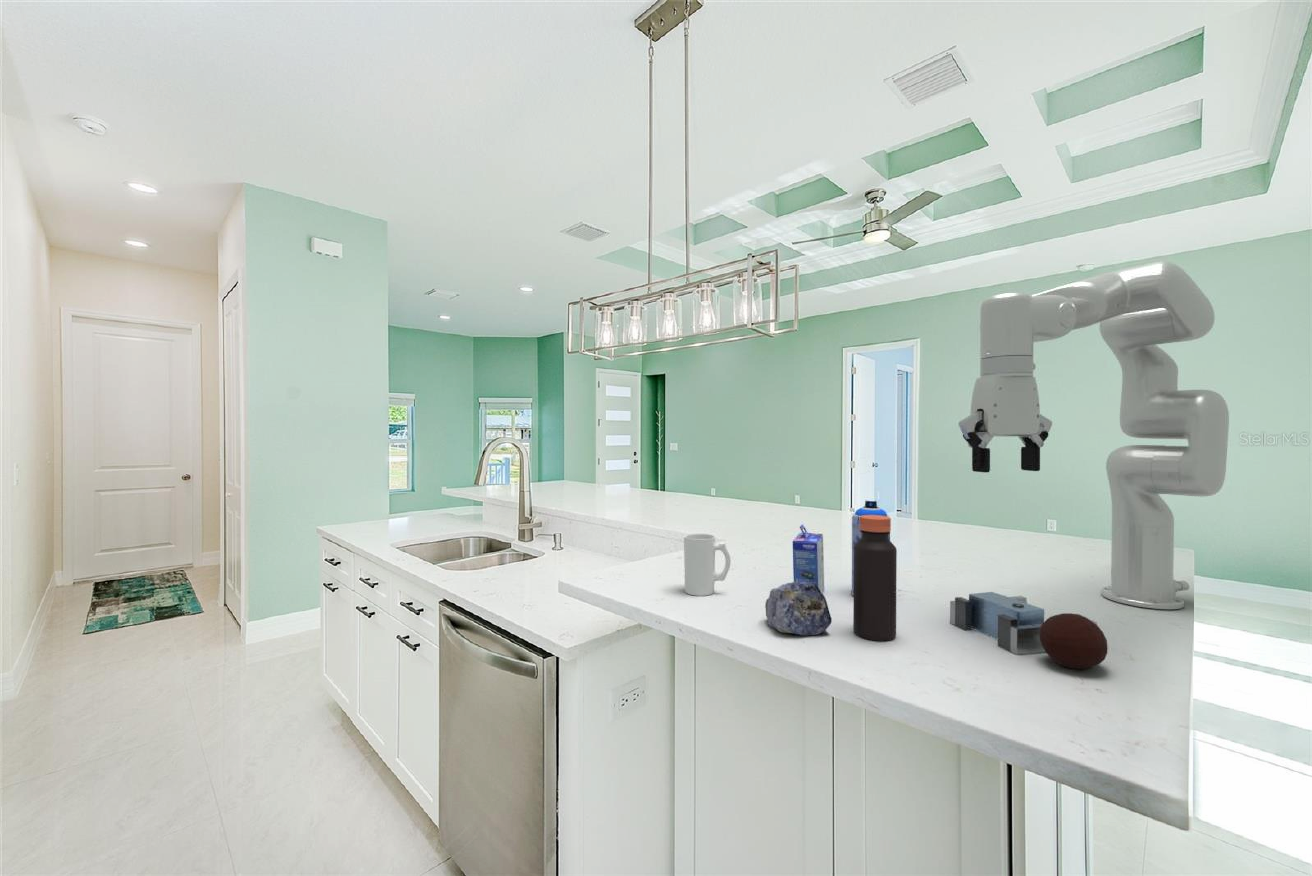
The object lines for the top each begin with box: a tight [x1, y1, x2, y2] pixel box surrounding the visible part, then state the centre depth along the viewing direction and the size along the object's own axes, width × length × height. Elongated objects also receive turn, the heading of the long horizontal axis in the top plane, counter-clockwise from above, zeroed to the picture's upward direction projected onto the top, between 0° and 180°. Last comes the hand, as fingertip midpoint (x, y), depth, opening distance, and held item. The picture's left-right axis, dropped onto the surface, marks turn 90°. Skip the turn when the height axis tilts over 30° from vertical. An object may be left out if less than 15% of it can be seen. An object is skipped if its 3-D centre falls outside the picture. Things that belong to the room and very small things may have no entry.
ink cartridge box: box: [792, 523, 825, 594], centre depth 118 cm, size 10×6×14 cm, turn 157°
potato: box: [1039, 612, 1109, 670], centre depth 81 cm, size 8×9×8 cm
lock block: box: [968, 591, 1045, 639], centre depth 94 cm, size 5×10×6 cm, turn 15°
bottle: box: [852, 515, 898, 642], centre depth 94 cm, size 7×7×20 cm
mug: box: [683, 533, 731, 597], centre depth 119 cm, size 10×7×12 cm, turn 72°
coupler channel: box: [949, 595, 1098, 656], centre depth 94 cm, size 15×14×5 cm
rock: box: [764, 581, 833, 637], centre depth 98 cm, size 11×10×10 cm
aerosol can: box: [850, 500, 891, 598], centre depth 116 cm, size 8×8×20 cm
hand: (1005, 471), depth 93 cm, fingers open, 9 cm apart
